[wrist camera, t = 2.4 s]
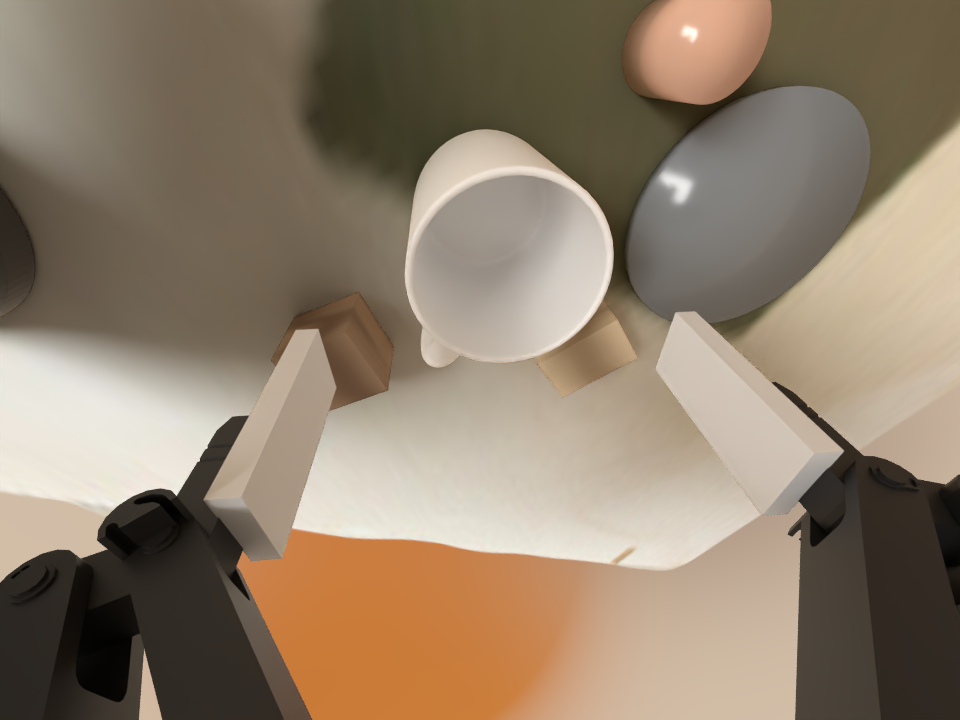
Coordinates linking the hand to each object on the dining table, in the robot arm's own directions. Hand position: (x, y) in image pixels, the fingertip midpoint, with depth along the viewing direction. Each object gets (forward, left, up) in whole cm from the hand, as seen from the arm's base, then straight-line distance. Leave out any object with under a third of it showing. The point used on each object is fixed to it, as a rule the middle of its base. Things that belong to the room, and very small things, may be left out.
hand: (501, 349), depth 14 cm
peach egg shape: (+10, +9, -12) cm, 18 cm away
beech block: (+8, -8, -13) cm, 17 cm away
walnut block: (-9, -7, -12) cm, 17 cm away
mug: (0, 0, -13) cm, 13 cm away
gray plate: (+18, 0, -12) cm, 22 cm away
